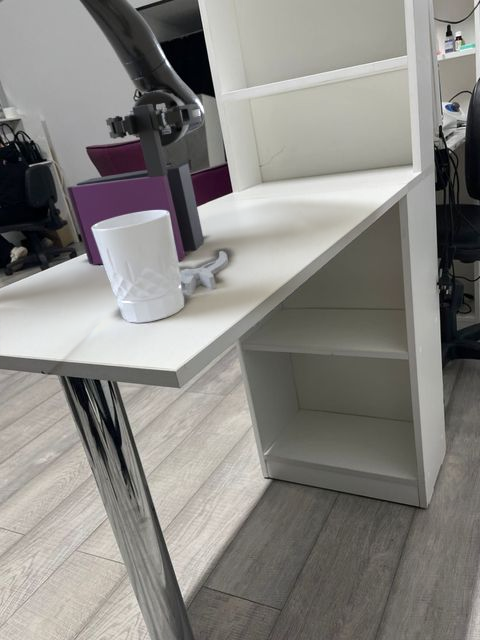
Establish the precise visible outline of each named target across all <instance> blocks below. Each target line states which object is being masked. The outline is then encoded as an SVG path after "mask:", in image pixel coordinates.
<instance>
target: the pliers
mask: <svg viewBox="0 0 480 640" xmlns="http://www.w3.org/2000/svg"><path fill="white" fill-rule="evenodd" d="M218 255H219V256H218V259H216V260H213V261H210V262H208V263H206V264H204V265H202V266H200V267H198V268H191V269H189V268H185V269H180V275H181V283H183V284H184V287H185V293H186V295H187V296H190V295H193V294H194V292H195V290H196V288H197V287H198V286H201V285H202V286H204V287H206V288H207V289H209V290H211V291H213V290H216V289H217V284H216V280H215V276H214V275H215V274H217V273H219V272H221V271H222V270H223V269H225V268H226V266H227V265H228V263H229V259H228V255H227V253H226V252H225V251H223V250H221V251H218Z"/></svg>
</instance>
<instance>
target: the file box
mask: <svg viewBox="0 0 480 640" xmlns="http://www.w3.org/2000/svg"><path fill="white" fill-rule="evenodd" d="M166 168H167V172H168V174H167V178H168V182H169V187H170V191H171V196H172V200H173V205H174V209H175V214H176V218H177V222H178V227H179V231H180V236H181V240H182V245H183V249H184V253H186V252H192V251H197V250H198V249H199V248H200V247H201V246H202V245H203V244H204V243H205V239H204V233H203V230H202V224H201V220H200V215H199V209H198V205H197V201H196V195H195V190H194V185H193V180H192V175H191V172H190V171H191V170H190V167H189V163H181V164H177V165H176V164H175V165H168V166H166ZM142 177H149V176H148V172H147V169H144V170H143V169H142V170H138V171H131V172H124V173H118V174H112V175H106V176H99V177H93V178H89V179H86V180H83V181H81V182H78V183H76V186H77V185H85V184H93V183H101V182H110V181H118V180H126V179H134V178H142Z"/></svg>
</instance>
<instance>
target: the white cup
mask: <svg viewBox="0 0 480 640" xmlns="http://www.w3.org/2000/svg"><path fill="white" fill-rule="evenodd" d="M91 229H92V232H93V235H94V238H95V241H96V244H97V247H98V250H99V253H100V256H101V259H102V262H103V267H104V270H105V273H106V276H107V279H108V281H109V284H110V286H111V290H112V292H113V294H114V296H115V297H116V301H117V304H118V308H119V311H120V313H121V316H122V318H123V319H124V320H125V321H127V322H128V323H136V324H137V323H148V322H154V321H158V320H162V319H165V318H168V317H171V316H173V315H175V314H177V313H178V312H180V311H181V310H182V309H184V307H185V297H184V292H183V287H182V282H181V275H180V270H181V269H180V264H179V261H178V257H177V251H176V246H175V240H174V235H173V230H172V224H171V219H170V213H169V211H167V210H150V211H142V212H136V213H131V214H126V215H122V216H118V217H114V218H110V219H107V220H104V221H101V222H99V223H97V224H95V225H93V226H92V227H91Z"/></svg>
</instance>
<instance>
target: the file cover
mask: <svg viewBox="0 0 480 640" xmlns="http://www.w3.org/2000/svg"><path fill="white" fill-rule="evenodd" d="M131 108H132V111H133V113H134V117H135V121H136V126H137V130H138V134H139V138H138V139H139V142H140V146H141V151H142V154H143V155H142V156H143V158H144V163H145V167H146V170H147V172H148V176H149V177H142V178H134V179H126V180H118V181H110V182H101V183H93V184H85V185H77V184H76V185H70V186H67V187H66V191H67V194H68V197H69V201H70V204H71V208H72V211H73V214H74V217H75V221H76V224H77V227H78V231H79V234H80V237H81V240H82V244H83V247H84V251H85V254H86V258H87V261H88V264H89V265H102V264H103V262H102V259H101V256H100V253H99V250H98V247H97V244H96V241H95V238H94V235H93V232H92V229H91V227H92V226H93V225H95V224H97V223H99V222H101V221H104V220H107V219H110V218H114V217H118V216H122V215H126V214H131V213H136V212H142V211H150V210H167V211H169V213H170V219H171V224H172V230H173V235H174V240H175V246H176V251H177V257H178V262H179V261H183V260H185V259H186V253H185V252H184V249H183V245H182V240H181V236H180V231H179V227H178V222H177V218H176V214H175V209H174V205H173V200H172V196H171V191H170V187H169V182H168V178H167V174H168V172H167V168H166V167H167V163H166V159H165V155H164V149H163V147H162V145H161V141H160V136H159V132H158V130H154V126H153V122H152V118H151V112H152V111H154V109H153V105H152V104H147V105H142V106H137V107H134V106H132V107H131Z"/></svg>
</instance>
